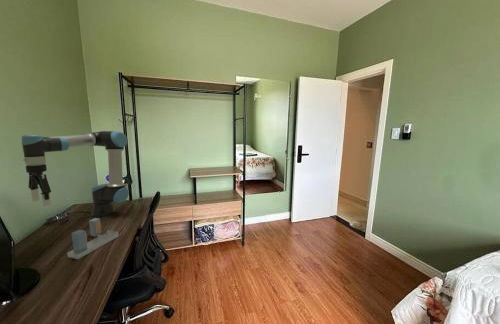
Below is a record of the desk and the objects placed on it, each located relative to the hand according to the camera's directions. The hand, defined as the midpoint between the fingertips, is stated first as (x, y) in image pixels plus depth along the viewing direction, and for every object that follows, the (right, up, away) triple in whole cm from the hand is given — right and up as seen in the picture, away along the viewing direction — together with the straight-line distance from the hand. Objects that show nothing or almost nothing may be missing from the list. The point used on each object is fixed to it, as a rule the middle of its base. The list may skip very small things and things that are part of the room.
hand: (41, 203), depth 111 cm
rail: (+25, -26, +6) cm, 36 cm away
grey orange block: (+16, -24, +18) cm, 34 cm away
